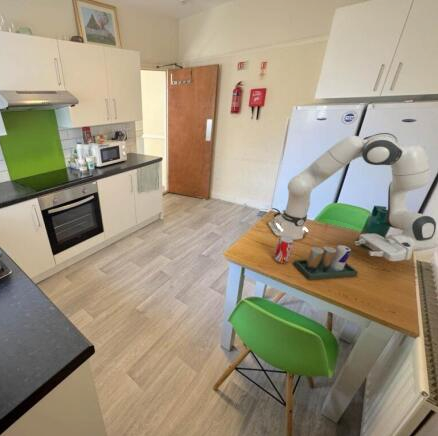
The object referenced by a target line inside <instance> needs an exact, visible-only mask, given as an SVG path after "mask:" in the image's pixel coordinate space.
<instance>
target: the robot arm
mask: <svg viewBox="0 0 438 436" xmlns="http://www.w3.org/2000/svg"><path fill="white" fill-rule="evenodd" d="M359 158H362V160H363V161H364V162H365V163H367V164H368V165H372V166H390V168H391V169H390V170H391V177H392V178H391V179H392V180H391V181H390V183H389V185H388V189H387V195H388V196H387V210H388V211H387V214H386V218H385V220H386V223H387V225H388V226H390V228H394V229H396V230H400V231H402V232H401V233H398V234H397V233H396V234H390V235H386V237H385V238H384V237H382V236H381V235H378V234H375V233H370V234H361V233H360V234H361V235H360V234H359V236H360V237H359V236H358V238H359V241H358V240H355V241H354V243H353V244H354V246H356V247H359V246H361V245H360V244H361V243H362V244H365V245H366V246H368V247H369V248H368V249H371V250H369V251H368V253H367V254H368V255H369V256H370V257H380V258H384V259H385V260H387V261H388V262H400V261H404V260H407V261H409V260H411V259H412V255H413V252H420V251H427V250H431V249H434V248H437V247H438V231H437V222H436V220H435V219H434V217H432V216H430V215H426V214H424V213H419V212H415V211H413V210H410V209H409V208H407V193H408V192H411V191H412V192H413V191H415V190H418V189H420V188H423V187H424V186H425V185H427V184H428V183H429V182H430V179H431V166H430V161H429V156H428V154H427V152H426V150H425V148H424V146H422V145H419V144H407V145H401V144H399V143H398V138H397V137H396V136H395V135H394V134H392V133H389V132H380V133H376V134H373V135H369V136H366V137H364V138H362V137H360V136H358V135H348V136H346V137H345V138H342V139H341V140H339V141H338V142H337V143H335V144H334V145H332V146H331V147H330V148H329V149H327V150H326V151H325V152H324V153H323V154H321V155H320V156H319V157H318V158H316V159H315V160H314V161H312V162H311V164H310V165H309V166H307V168H305V169H304V170H302V172H300V173H298V174H297V175H295V176H293V177H292V178H291V179H290V181H289V182H288V183H287V190H288V191H287V192H288V195H287V196H288V199H287V203H286V207H285V209H284V210H283V209H282V211H280V210H279V209H278V208H276V207H275V208H274V207H273V208H271V210H272V211H273V210H275V211H277V213H274V214H273V216H274V218H273V219H272V221H269V222H268V223H267V225H268V227H269V228H270V230H271V231H272V232H273V234H274V235H275V236H279V237H281V236H288V237H291V238H292V239H293V240H294V241H295V240H297V241H298V240H301V239H303V238H304V235H305V234H306V232H309V230H308V228H307V227H306V223H307V222H306V221H307V219H308V212H309V208H310V207H311V194H312V192H313V190H314V189H316V188H317V187H318V186H319V185H321V184H322V183H323V182H325V181H327V180H328V179H329V178H330V177H332V176H333V175H335V174H336V173H338V172H339V171H340V170H342V169H343V168H344V167H346V166H347V165H349V163H351V162H352V161H354V160H356V159H359ZM281 213H282V214H281Z"/></svg>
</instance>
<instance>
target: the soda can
mask: <svg viewBox="0 0 438 436" xmlns="http://www.w3.org/2000/svg"><path fill="white" fill-rule="evenodd" d="M294 245H295V240H293V239H292V238H291V237H288V236H279V238H278V240H277V243H276V247H275V251H274V254H273V259H274V261H276V262H278V263H280V264H287V263H288V262H289V261H290V258H291V255H292V253H293V252H292V251H293V249H294Z"/></svg>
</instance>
